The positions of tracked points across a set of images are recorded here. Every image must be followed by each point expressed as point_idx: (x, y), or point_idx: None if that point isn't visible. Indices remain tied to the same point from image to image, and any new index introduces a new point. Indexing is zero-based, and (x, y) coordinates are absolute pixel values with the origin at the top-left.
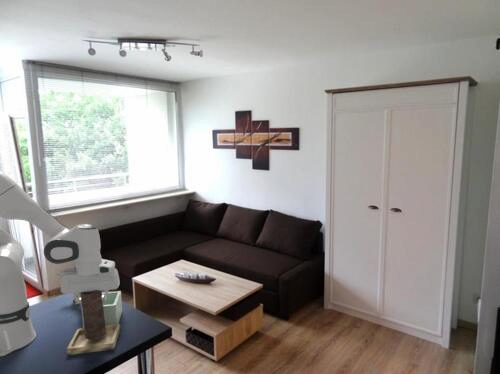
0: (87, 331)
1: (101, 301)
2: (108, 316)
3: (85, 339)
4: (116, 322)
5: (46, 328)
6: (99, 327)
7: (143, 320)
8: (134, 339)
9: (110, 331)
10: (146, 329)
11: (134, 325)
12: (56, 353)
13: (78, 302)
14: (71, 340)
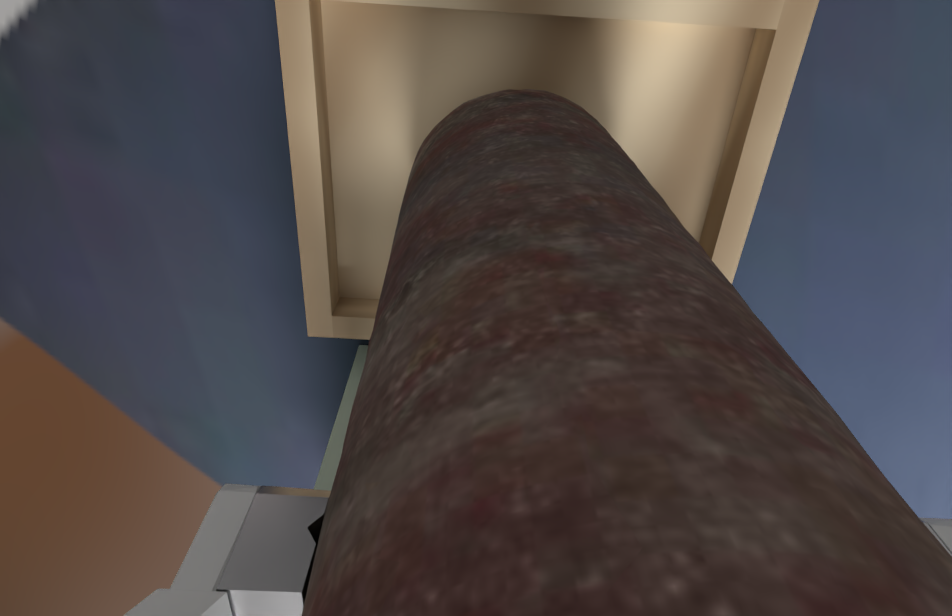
0: (608, 136)
1: (336, 473)
2: None
3: None
4: (352, 376)
5: (934, 467)
6: (447, 144)
7: (146, 392)
8: (122, 99)
9: None
10: (60, 248)
11: (205, 339)
12: (890, 60)
13: (943, 535)
14: (767, 166)
